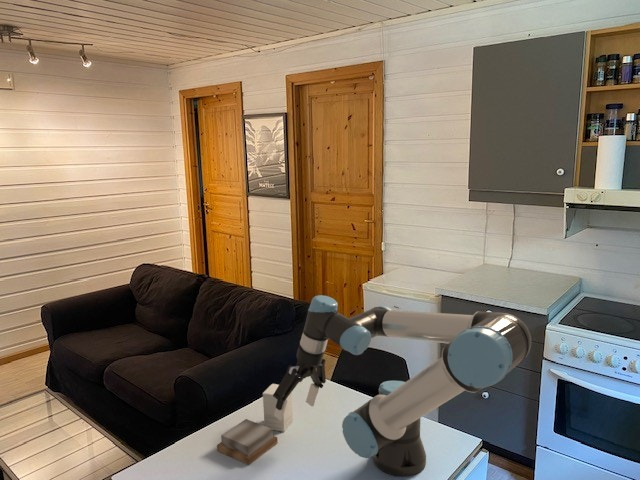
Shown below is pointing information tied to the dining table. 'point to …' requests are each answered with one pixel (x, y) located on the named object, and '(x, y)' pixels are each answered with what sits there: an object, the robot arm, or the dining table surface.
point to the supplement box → (270, 408)
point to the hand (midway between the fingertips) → (294, 410)
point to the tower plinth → (247, 441)
